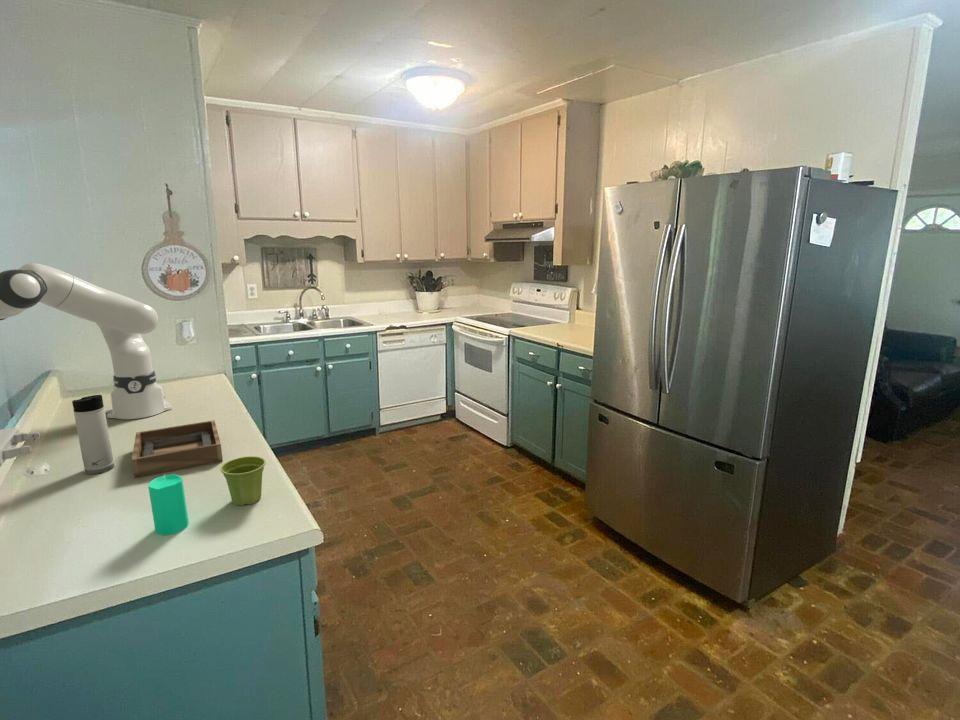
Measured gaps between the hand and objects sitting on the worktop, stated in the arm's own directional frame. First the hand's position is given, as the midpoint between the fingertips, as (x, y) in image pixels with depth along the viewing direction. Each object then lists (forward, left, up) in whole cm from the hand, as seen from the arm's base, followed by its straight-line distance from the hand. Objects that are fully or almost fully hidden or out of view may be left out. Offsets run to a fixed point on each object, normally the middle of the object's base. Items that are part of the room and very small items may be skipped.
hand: (35, 442), depth 127 cm
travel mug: (0, +12, -10) cm, 16 cm away
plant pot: (+37, +43, -10) cm, 57 cm away
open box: (0, +30, -10) cm, 31 cm away
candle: (+42, +28, -10) cm, 51 cm away
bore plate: (0, +30, -10) cm, 31 cm away
